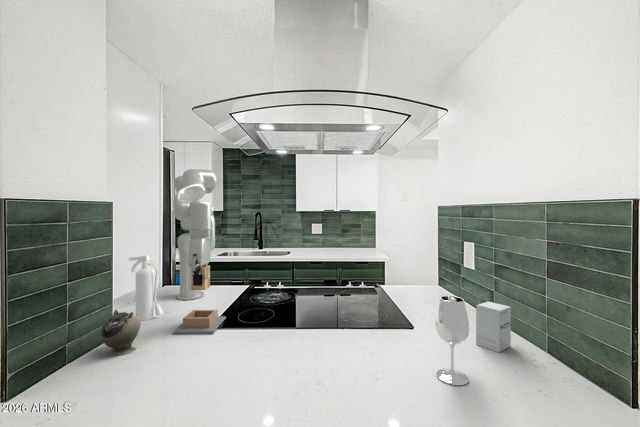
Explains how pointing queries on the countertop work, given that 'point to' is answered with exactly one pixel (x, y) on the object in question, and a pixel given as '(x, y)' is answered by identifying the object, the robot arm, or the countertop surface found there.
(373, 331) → the countertop surface
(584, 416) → the countertop surface
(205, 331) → the base board
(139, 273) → the fire extinguisher
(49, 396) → the countertop surface
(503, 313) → the supplement box
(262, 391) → the countertop surface
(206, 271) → the oak block
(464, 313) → the wineglass
